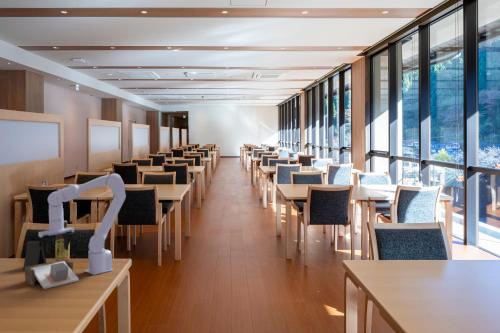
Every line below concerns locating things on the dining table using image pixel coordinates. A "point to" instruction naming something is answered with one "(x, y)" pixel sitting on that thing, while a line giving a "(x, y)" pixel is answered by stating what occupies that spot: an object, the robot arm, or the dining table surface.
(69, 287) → the dining table surface
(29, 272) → the trapdoor frame
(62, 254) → the sauce bottle
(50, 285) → the trapdoor
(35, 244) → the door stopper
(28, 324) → the dining table surface
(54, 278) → the stone
